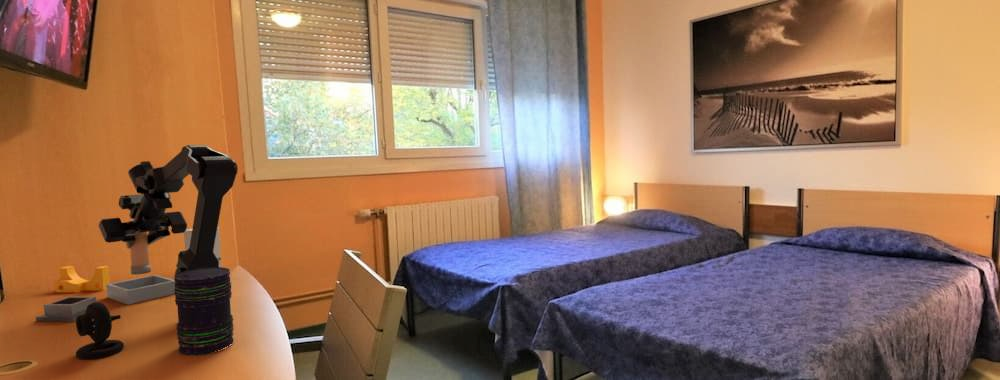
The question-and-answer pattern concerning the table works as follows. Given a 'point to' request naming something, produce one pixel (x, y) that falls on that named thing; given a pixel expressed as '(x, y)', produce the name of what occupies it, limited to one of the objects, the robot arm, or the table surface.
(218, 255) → the skincare box
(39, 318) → the stud base
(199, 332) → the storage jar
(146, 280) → the bin
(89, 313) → the webcam
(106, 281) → the pipe clamp
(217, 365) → the table surface
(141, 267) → the tan rounded tapered piece
